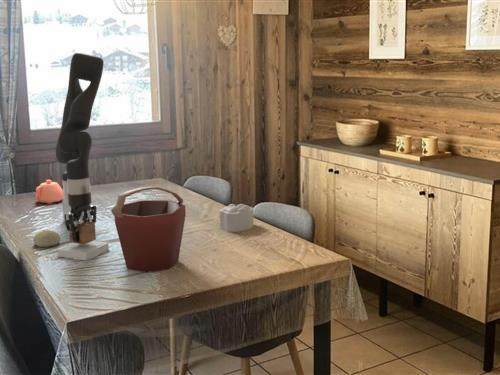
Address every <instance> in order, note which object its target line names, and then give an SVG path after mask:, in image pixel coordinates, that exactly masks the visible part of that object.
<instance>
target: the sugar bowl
mask: <svg viewBox="0 0 500 375" xmlns="http://www.w3.org/2000/svg"><path fill="white" fill-rule="evenodd" d="M35 193H36V194H35V200H36V201H37V202H39V203H45V204H48V205H50V204H53V203H58V202H61V201H62V198H64V193H63V188H62V187H61V186H60V185H59V183H58V182H56V181H52V180H51V179H45V182H42V183H40V185H39V186H37V187H35Z"/></svg>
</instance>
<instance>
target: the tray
mask: <svg viewBox="0 0 500 375" xmlns="http://www.w3.org/2000/svg"><path fill="white" fill-rule="evenodd" d="M109 250H110V248H109V242H103V241H96V240H93V241H91V242H89V243H87V244H78V243H71V242H70V243H69V244H65V245H64V246H62V247H59V248H56V251H57V257H60V258H61V257H62V258H67V259H74V260H79V261H80V260H81V261H89V260H90V259H93V258H94V257H96V256H99V255H102V254H103V253H106V252H107V251H109Z"/></svg>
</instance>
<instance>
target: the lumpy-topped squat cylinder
mask: <svg viewBox="0 0 500 375" xmlns="http://www.w3.org/2000/svg"><path fill="white" fill-rule="evenodd" d="M218 213H219V228H220V229H221V230H223V231H225V232H228V233H236V232H238V233H239V232H242V231H248V230H251V229H253V227H254V208H253V207H252V206H249V205H248V204H247V205H246V204H244V203H240V204H234V203H231V204H229V205H227V206H224V207H222V208H220V209H219V212H218Z"/></svg>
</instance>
